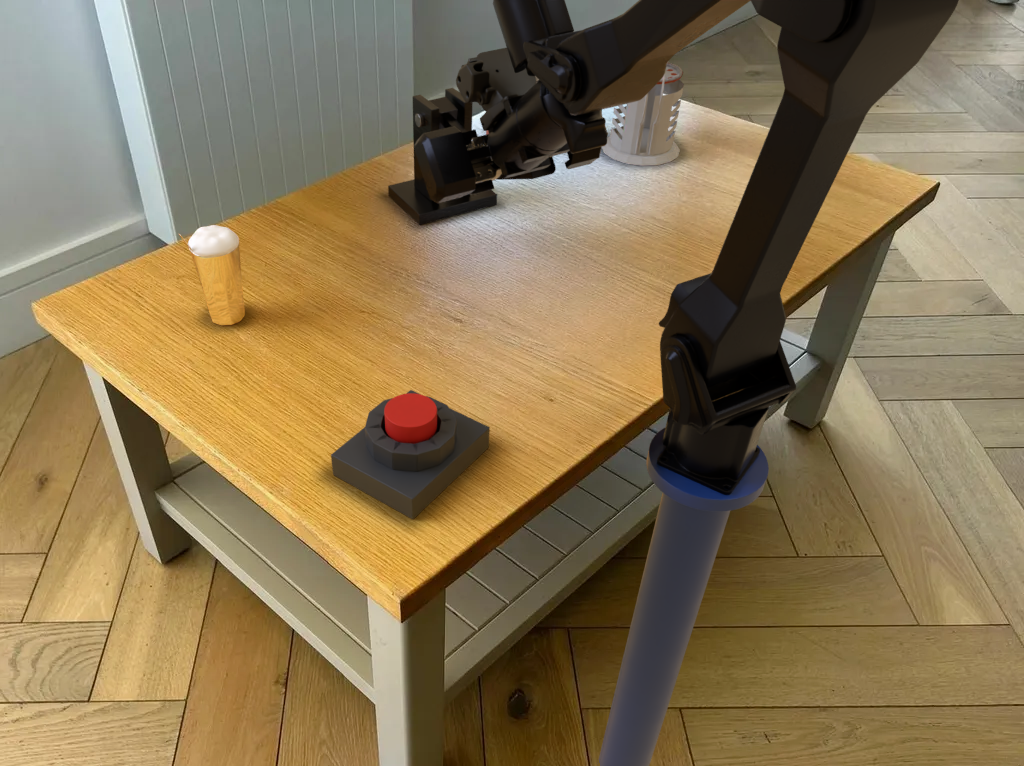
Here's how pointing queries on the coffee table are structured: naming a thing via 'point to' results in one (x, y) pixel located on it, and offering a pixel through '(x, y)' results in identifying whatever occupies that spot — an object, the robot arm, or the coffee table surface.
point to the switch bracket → (415, 192)
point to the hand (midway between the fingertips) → (477, 177)
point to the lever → (450, 118)
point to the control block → (409, 459)
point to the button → (410, 418)
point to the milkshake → (219, 272)
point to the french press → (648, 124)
